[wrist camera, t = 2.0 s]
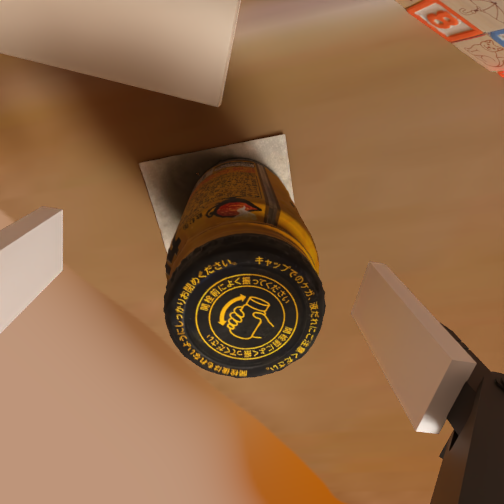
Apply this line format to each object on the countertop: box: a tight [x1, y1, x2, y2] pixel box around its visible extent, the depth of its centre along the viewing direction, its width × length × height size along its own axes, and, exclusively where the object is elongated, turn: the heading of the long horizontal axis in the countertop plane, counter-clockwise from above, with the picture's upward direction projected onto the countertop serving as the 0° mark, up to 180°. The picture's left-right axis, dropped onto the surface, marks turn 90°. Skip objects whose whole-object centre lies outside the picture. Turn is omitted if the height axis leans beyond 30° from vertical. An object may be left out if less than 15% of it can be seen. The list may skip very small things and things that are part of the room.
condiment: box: [139, 134, 326, 378], centre depth 17 cm, size 7×8×12 cm
